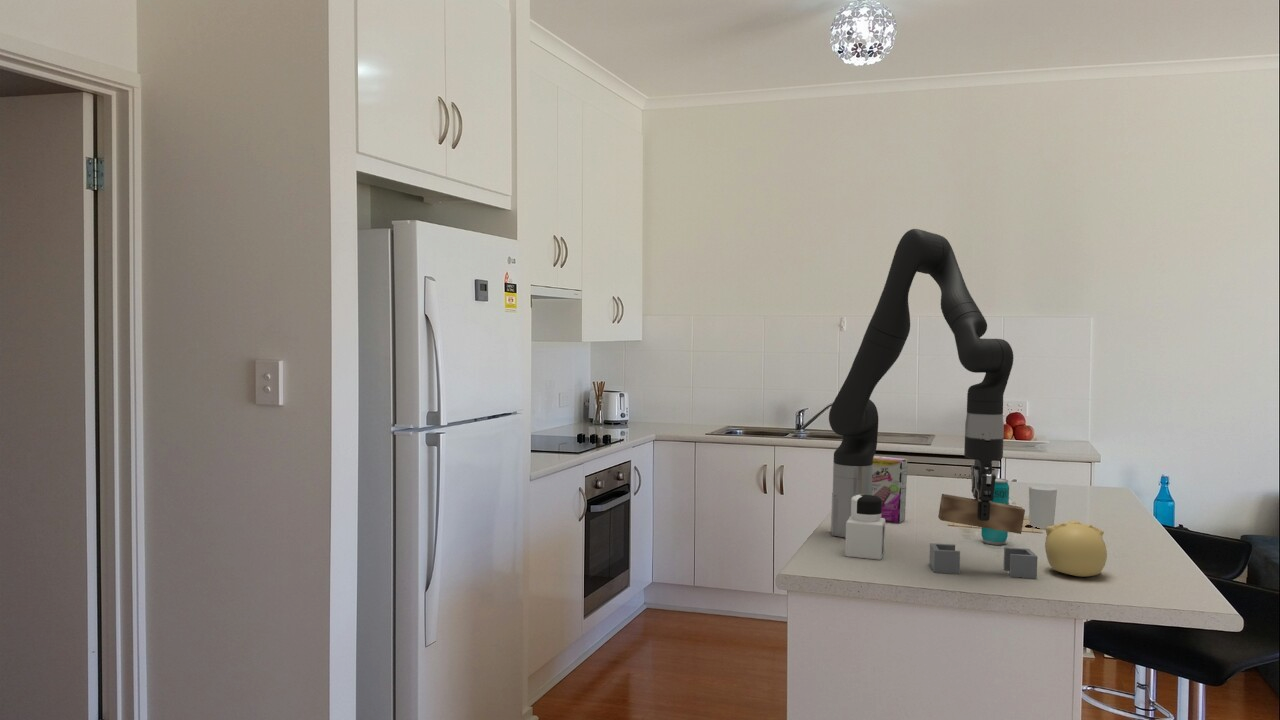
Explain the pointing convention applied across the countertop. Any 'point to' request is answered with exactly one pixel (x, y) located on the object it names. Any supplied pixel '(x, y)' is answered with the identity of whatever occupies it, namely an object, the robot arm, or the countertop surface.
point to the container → (865, 528)
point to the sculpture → (1075, 548)
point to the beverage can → (1001, 497)
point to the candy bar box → (890, 486)
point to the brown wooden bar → (967, 514)
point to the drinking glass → (1042, 506)
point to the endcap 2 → (1020, 562)
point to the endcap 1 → (944, 558)
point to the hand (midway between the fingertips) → (981, 517)
